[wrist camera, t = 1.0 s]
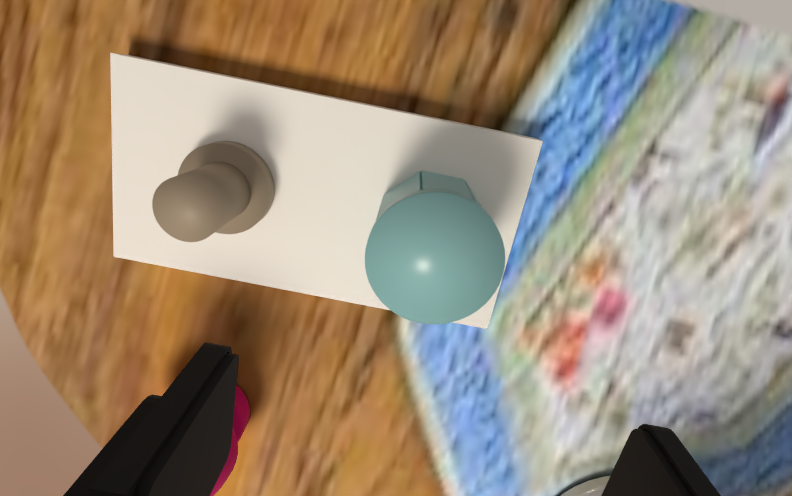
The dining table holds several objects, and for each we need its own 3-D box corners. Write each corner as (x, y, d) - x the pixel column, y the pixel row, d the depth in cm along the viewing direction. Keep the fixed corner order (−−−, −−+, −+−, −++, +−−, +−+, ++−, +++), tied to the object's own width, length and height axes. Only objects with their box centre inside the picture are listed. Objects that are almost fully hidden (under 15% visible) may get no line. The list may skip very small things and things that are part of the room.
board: (535, 138, 27) (575, 155, 20) (483, 317, 31) (502, 381, 24) (127, 54, 26) (27, 44, 20) (128, 248, 30) (46, 294, 24)
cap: (499, 182, 26) (522, 209, 21) (471, 286, 29) (485, 335, 23) (386, 159, 26) (378, 180, 21) (366, 265, 28) (354, 310, 23)
